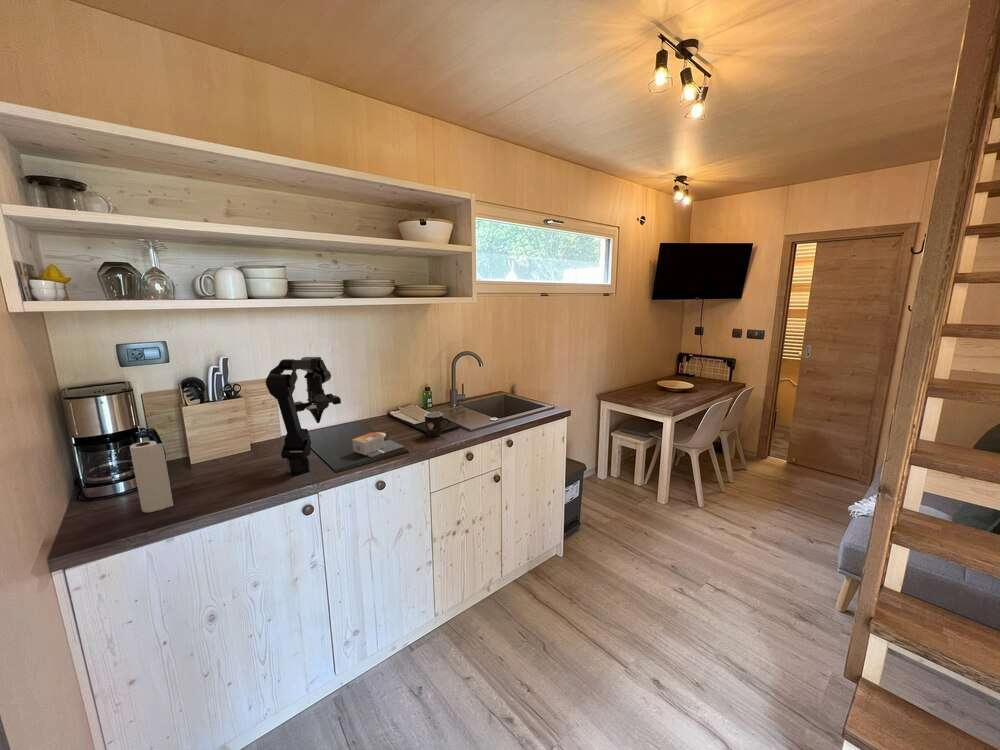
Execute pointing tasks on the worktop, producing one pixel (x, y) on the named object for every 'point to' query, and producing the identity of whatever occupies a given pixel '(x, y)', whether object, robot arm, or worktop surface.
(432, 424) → the coffee mug
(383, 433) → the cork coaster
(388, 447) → the mat
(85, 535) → the worktop surface
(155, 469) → the paper towel roll
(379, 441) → the small box
